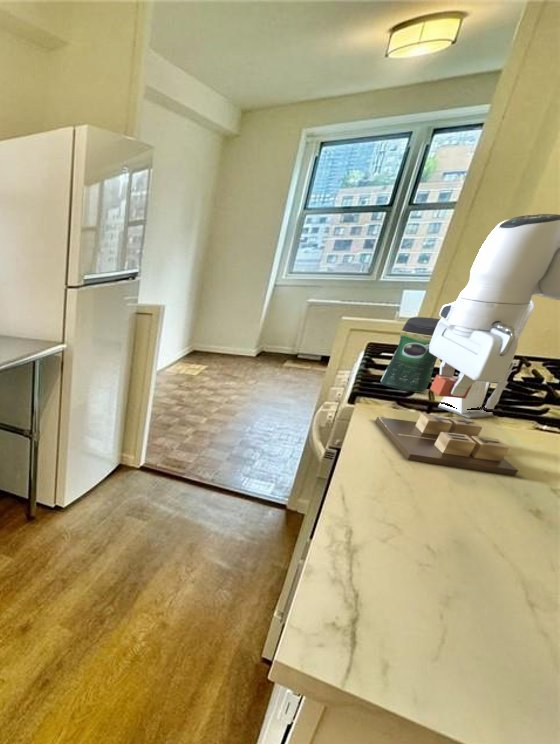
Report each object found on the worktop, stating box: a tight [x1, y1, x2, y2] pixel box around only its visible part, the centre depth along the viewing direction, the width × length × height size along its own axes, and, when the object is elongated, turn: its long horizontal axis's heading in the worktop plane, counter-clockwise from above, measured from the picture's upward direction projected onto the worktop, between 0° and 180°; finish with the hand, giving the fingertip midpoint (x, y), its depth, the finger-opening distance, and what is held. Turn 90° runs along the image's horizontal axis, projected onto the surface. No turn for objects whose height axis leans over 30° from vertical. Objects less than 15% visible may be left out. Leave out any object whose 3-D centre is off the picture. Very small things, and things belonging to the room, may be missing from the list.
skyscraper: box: [437, 297, 536, 419], centre depth 110 cm, size 8×8×28 cm
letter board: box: [375, 416, 519, 477], centre depth 100 cm, size 16×20×1 cm
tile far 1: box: [471, 435, 510, 462], centre depth 93 cm, size 4×4×3 cm
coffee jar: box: [380, 316, 441, 393], centre depth 127 cm, size 10×8×19 cm
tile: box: [434, 432, 476, 457], centre depth 94 cm, size 4×4×3 cm
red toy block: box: [429, 374, 472, 399], centre depth 91 cm, size 5×4×3 cm
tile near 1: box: [448, 416, 483, 438], centre depth 101 cm, size 4×4×3 cm
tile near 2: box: [415, 413, 452, 435], centre depth 103 cm, size 4×4×3 cm
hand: (448, 390), depth 92 cm, fingers closed on red toy block, 4 cm apart
